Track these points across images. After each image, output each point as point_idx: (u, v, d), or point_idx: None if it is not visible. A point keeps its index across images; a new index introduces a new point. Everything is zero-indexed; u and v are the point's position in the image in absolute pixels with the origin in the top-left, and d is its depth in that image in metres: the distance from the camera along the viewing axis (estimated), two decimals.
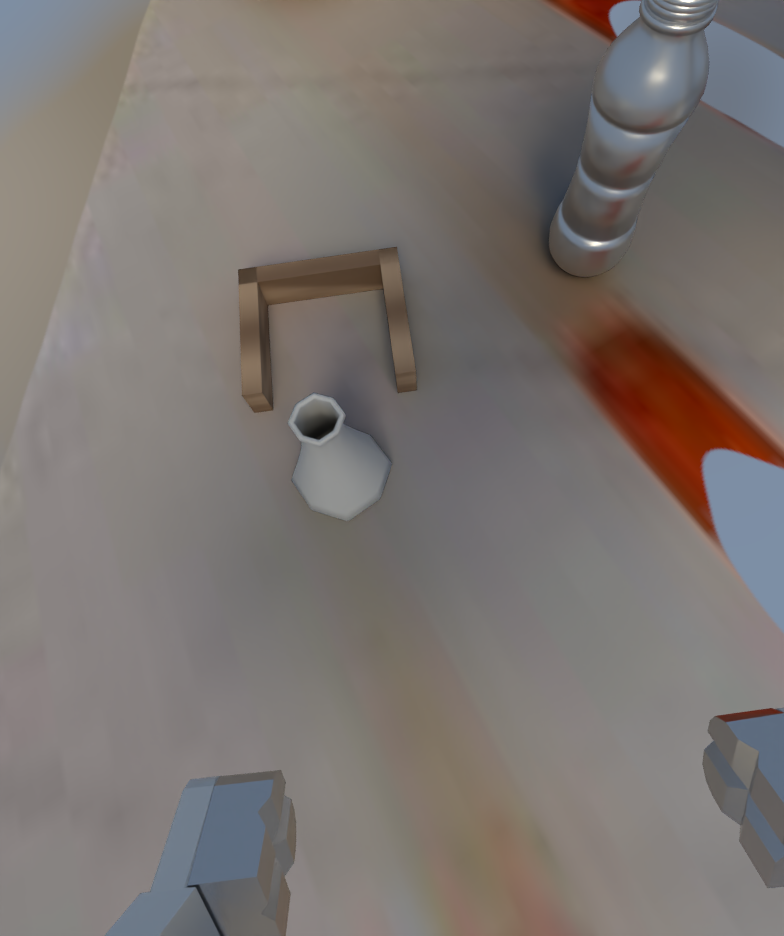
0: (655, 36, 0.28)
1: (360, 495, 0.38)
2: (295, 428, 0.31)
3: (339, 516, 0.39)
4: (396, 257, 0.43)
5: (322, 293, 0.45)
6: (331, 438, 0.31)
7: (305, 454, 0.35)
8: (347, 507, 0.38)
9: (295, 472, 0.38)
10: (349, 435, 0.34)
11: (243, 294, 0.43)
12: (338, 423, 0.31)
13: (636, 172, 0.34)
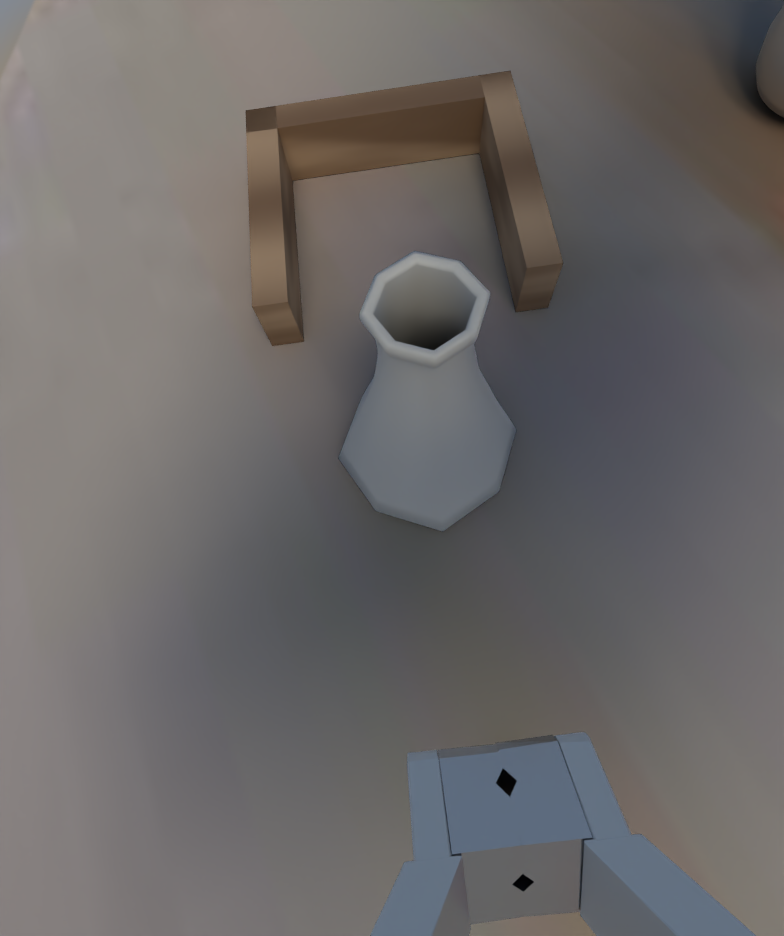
0: None
1: (470, 484, 0.20)
2: (378, 325, 0.13)
3: (427, 522, 0.21)
4: (511, 86, 0.25)
5: (381, 159, 0.28)
6: (461, 347, 0.13)
7: (380, 399, 0.17)
8: (446, 505, 0.20)
9: (349, 442, 0.21)
10: (475, 358, 0.16)
11: (254, 147, 0.25)
12: (476, 313, 0.13)
13: None
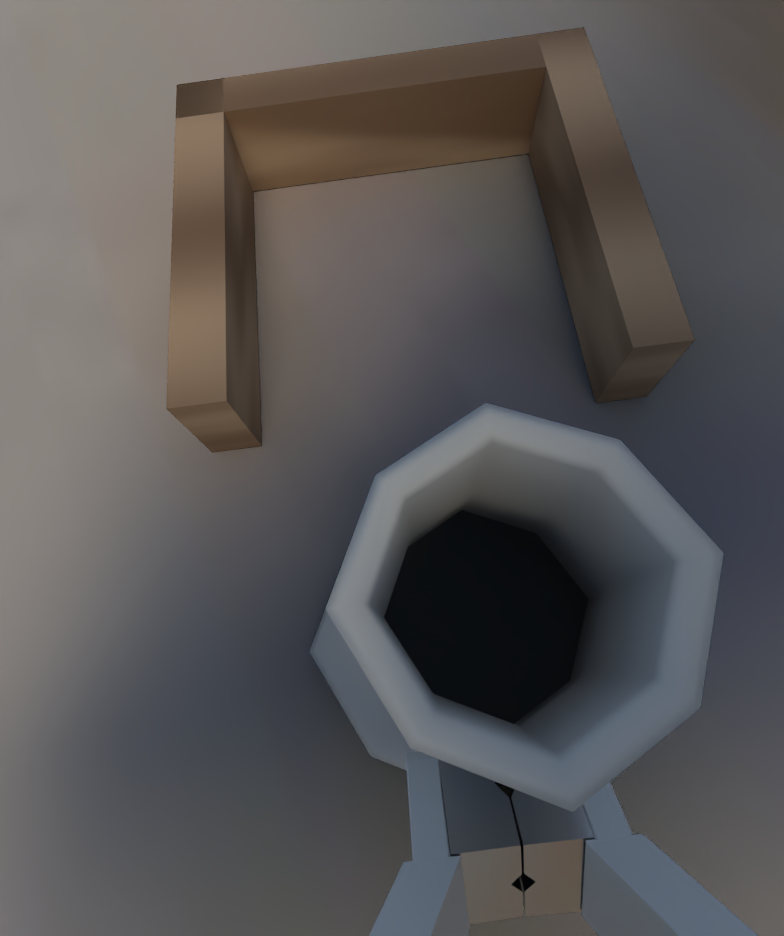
0: None
1: None
2: (381, 655, 0.04)
3: None
4: (587, 50, 0.16)
5: (384, 161, 0.19)
6: None
7: None
8: None
9: (325, 652, 0.12)
10: None
11: (186, 140, 0.16)
12: (690, 628, 0.04)
13: None
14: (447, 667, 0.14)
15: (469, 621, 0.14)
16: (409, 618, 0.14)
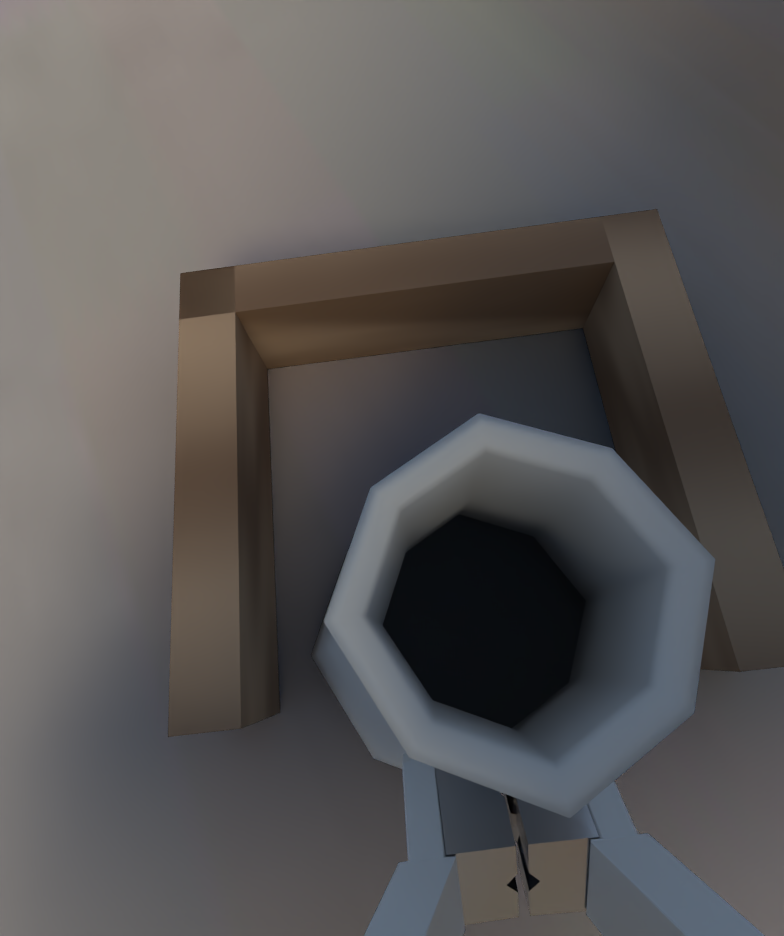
0: None
1: None
2: (379, 666, 0.04)
3: None
4: (662, 240, 0.14)
5: (418, 340, 0.16)
6: None
7: None
8: None
9: (326, 656, 0.12)
10: None
11: (191, 350, 0.14)
12: (683, 634, 0.04)
13: None
14: (449, 668, 0.14)
15: (469, 622, 0.14)
16: (410, 621, 0.14)
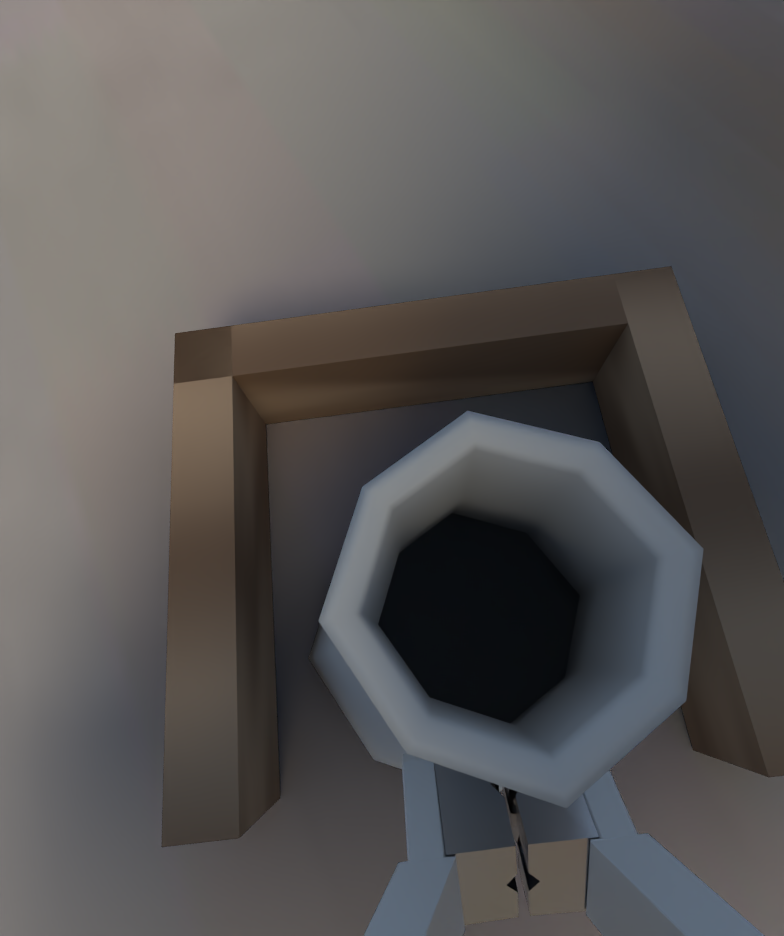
0: None
1: None
2: (375, 663, 0.04)
3: None
4: (677, 300, 0.13)
5: (423, 396, 0.16)
6: (635, 736, 0.04)
7: None
8: None
9: (324, 658, 0.12)
10: None
11: (187, 417, 0.13)
12: (674, 623, 0.04)
13: None
14: (447, 668, 0.14)
15: (466, 621, 0.14)
16: (407, 621, 0.14)
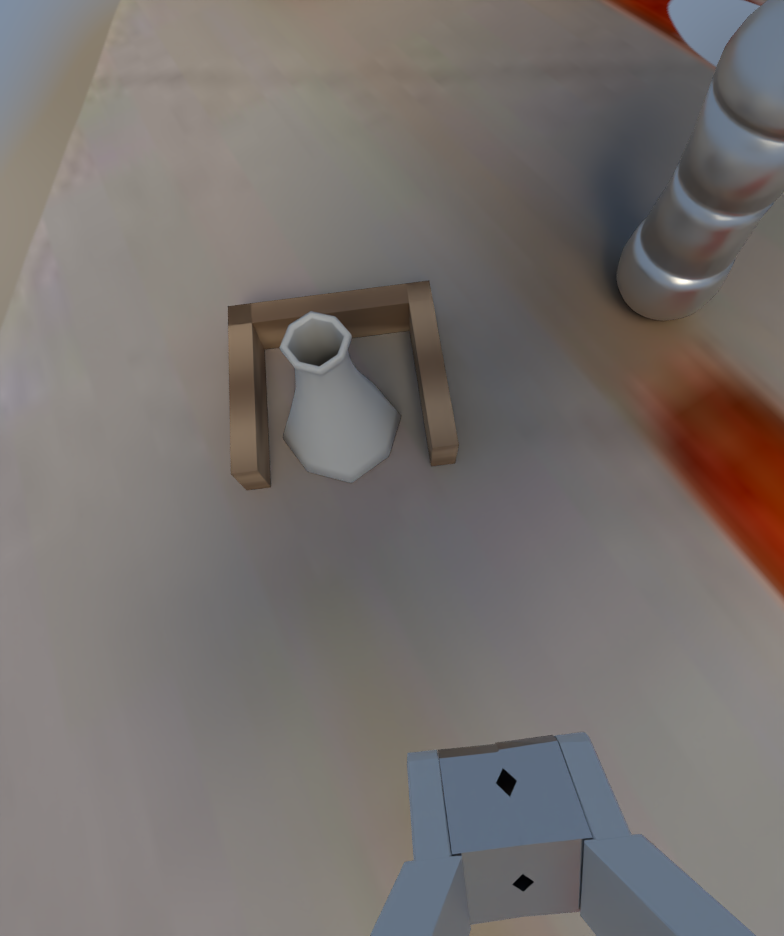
0: None
1: (366, 450, 0.32)
2: (289, 353, 0.25)
3: (341, 477, 0.33)
4: (429, 294, 0.34)
5: None
6: (335, 364, 0.25)
7: (300, 396, 0.28)
8: (351, 464, 0.32)
9: (287, 425, 0.32)
10: (354, 369, 0.28)
11: (234, 338, 0.33)
12: (343, 345, 0.25)
13: (763, 193, 0.26)
14: None
15: None
16: None
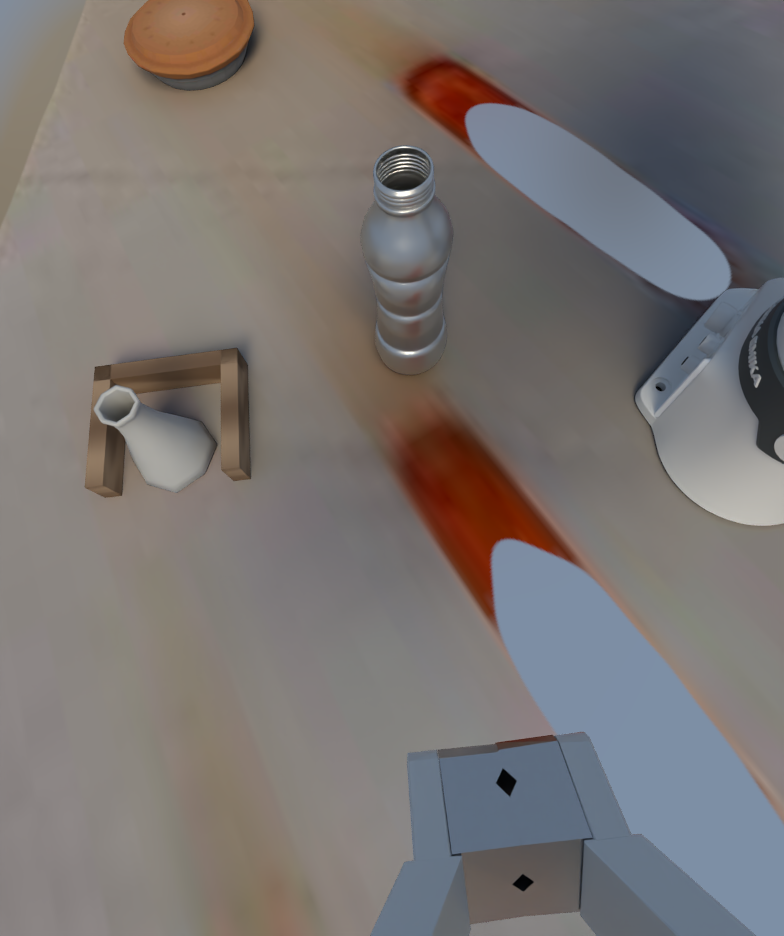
0: (387, 214, 0.33)
1: (182, 470, 0.46)
2: (98, 413, 0.39)
3: (169, 488, 0.47)
4: (235, 358, 0.48)
5: (175, 385, 0.50)
6: (127, 420, 0.38)
7: None
8: (172, 480, 0.46)
9: (130, 453, 0.46)
10: (156, 419, 0.42)
11: (96, 390, 0.47)
12: (132, 408, 0.39)
13: (411, 306, 0.39)
14: None
15: None
16: None
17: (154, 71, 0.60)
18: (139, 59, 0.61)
